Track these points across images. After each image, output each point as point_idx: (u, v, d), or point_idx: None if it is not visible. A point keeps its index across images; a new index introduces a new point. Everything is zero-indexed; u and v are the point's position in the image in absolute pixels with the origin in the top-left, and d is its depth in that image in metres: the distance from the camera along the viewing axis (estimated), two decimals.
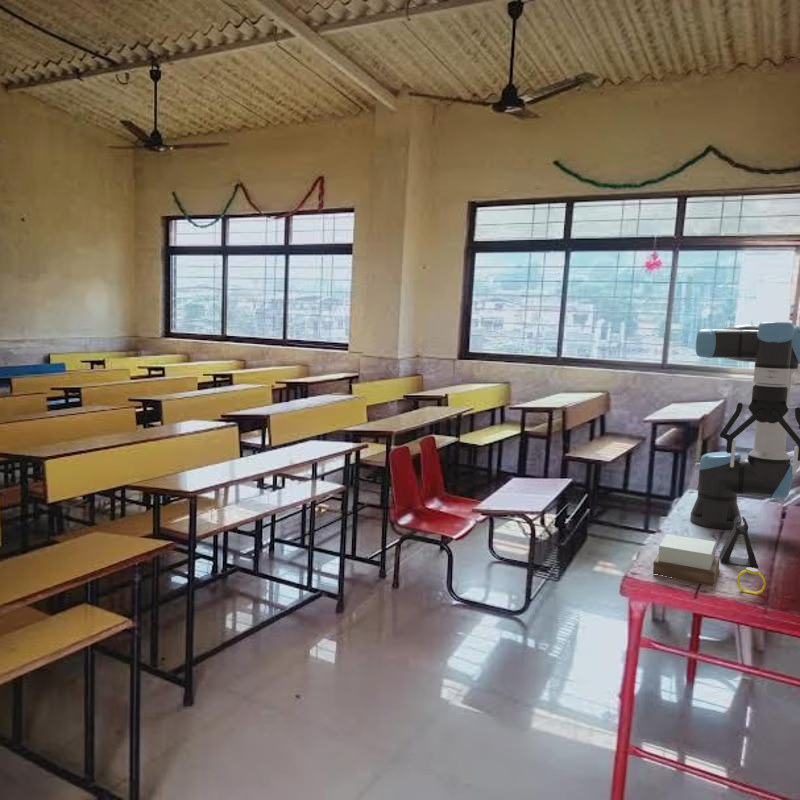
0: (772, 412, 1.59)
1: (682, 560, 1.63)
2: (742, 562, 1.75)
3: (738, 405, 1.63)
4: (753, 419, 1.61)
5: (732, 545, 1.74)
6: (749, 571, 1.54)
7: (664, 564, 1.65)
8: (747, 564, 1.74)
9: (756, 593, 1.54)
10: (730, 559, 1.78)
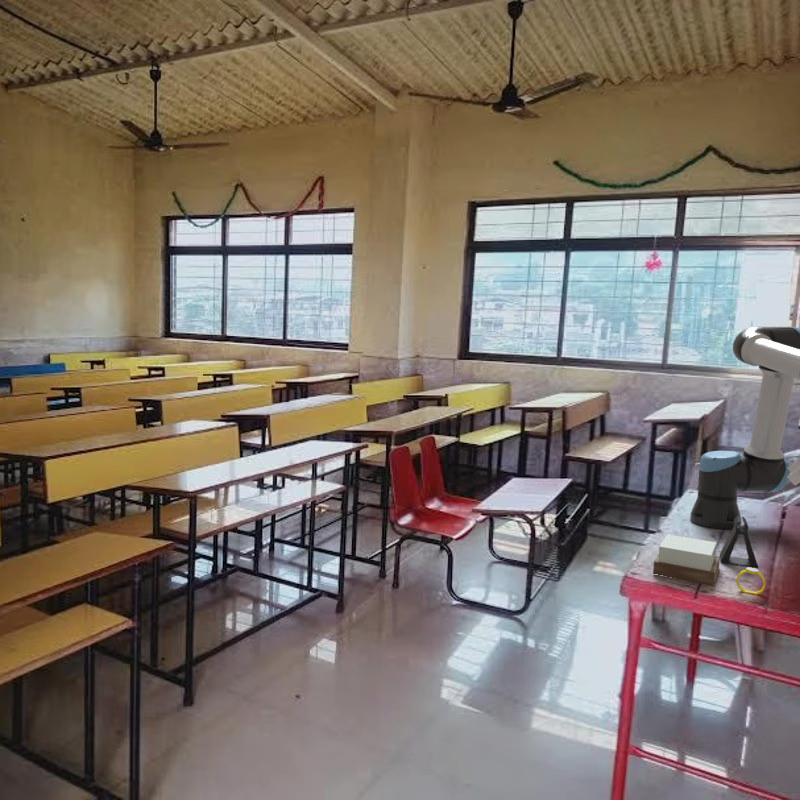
0: None
1: (682, 561, 1.63)
2: (742, 562, 1.75)
3: None
4: None
5: (732, 545, 1.74)
6: (749, 571, 1.54)
7: (664, 564, 1.65)
8: (747, 564, 1.74)
9: (756, 593, 1.54)
10: (730, 559, 1.78)
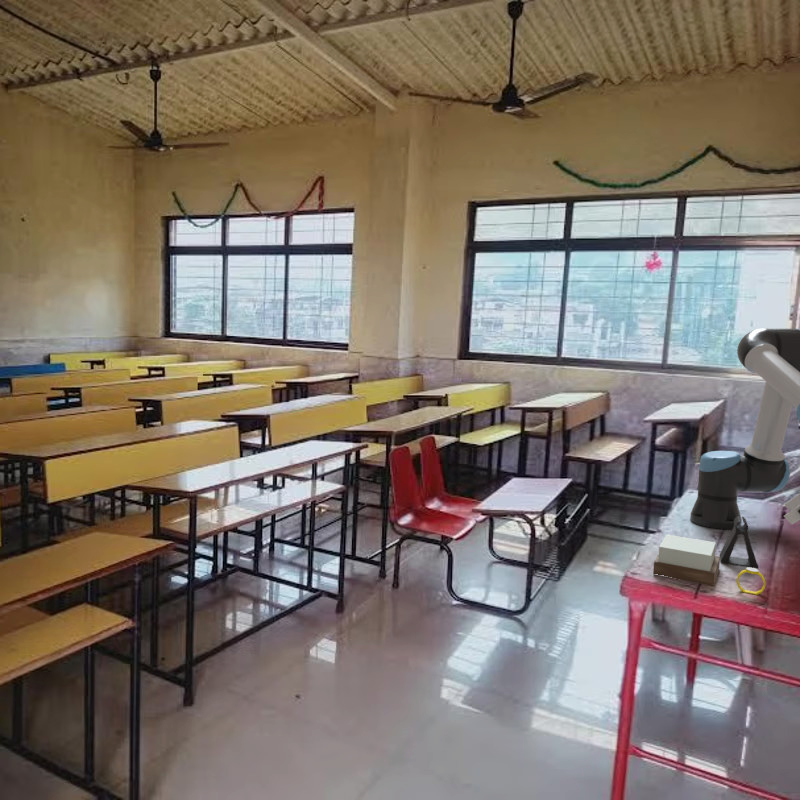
0: None
1: (681, 561, 1.63)
2: (742, 562, 1.75)
3: None
4: None
5: (732, 545, 1.74)
6: (749, 571, 1.54)
7: (664, 564, 1.65)
8: (747, 564, 1.74)
9: (756, 593, 1.54)
10: (730, 559, 1.78)
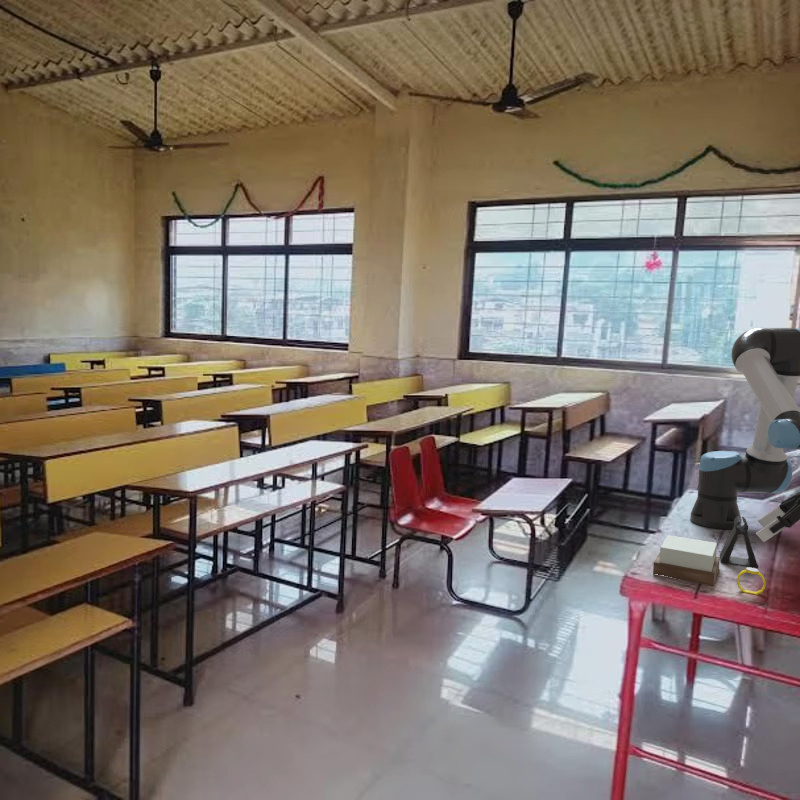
0: None
1: (683, 562, 1.63)
2: (742, 562, 1.75)
3: None
4: None
5: (732, 545, 1.74)
6: (749, 571, 1.54)
7: (664, 564, 1.65)
8: (747, 564, 1.74)
9: (756, 593, 1.54)
10: (730, 559, 1.78)
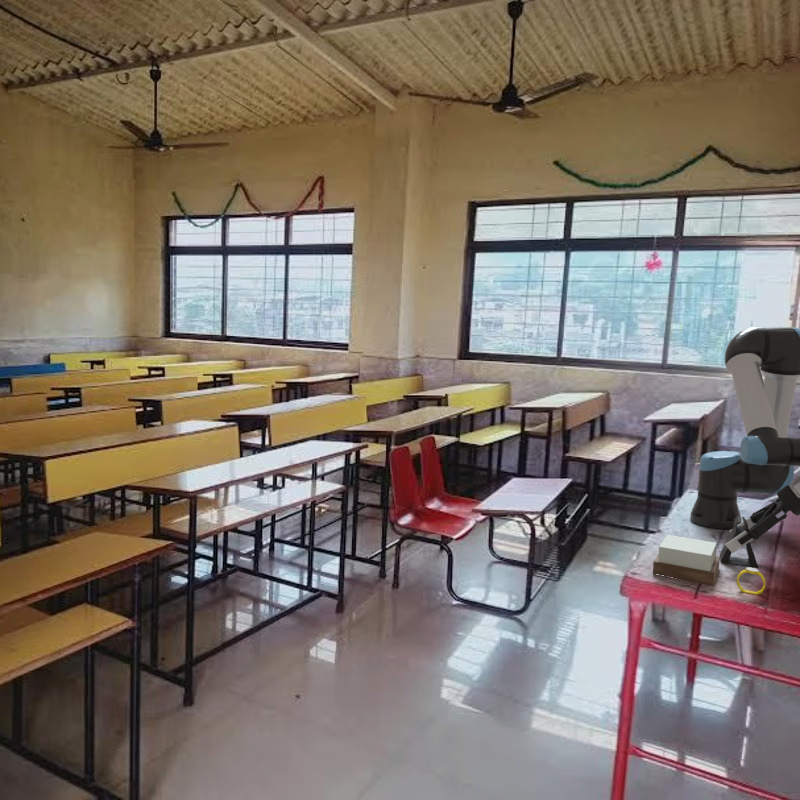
0: None
1: (682, 561, 1.63)
2: (742, 562, 1.75)
3: (784, 517, 1.65)
4: None
5: None
6: (749, 571, 1.54)
7: (664, 564, 1.65)
8: (747, 564, 1.74)
9: (756, 593, 1.54)
10: (730, 559, 1.78)
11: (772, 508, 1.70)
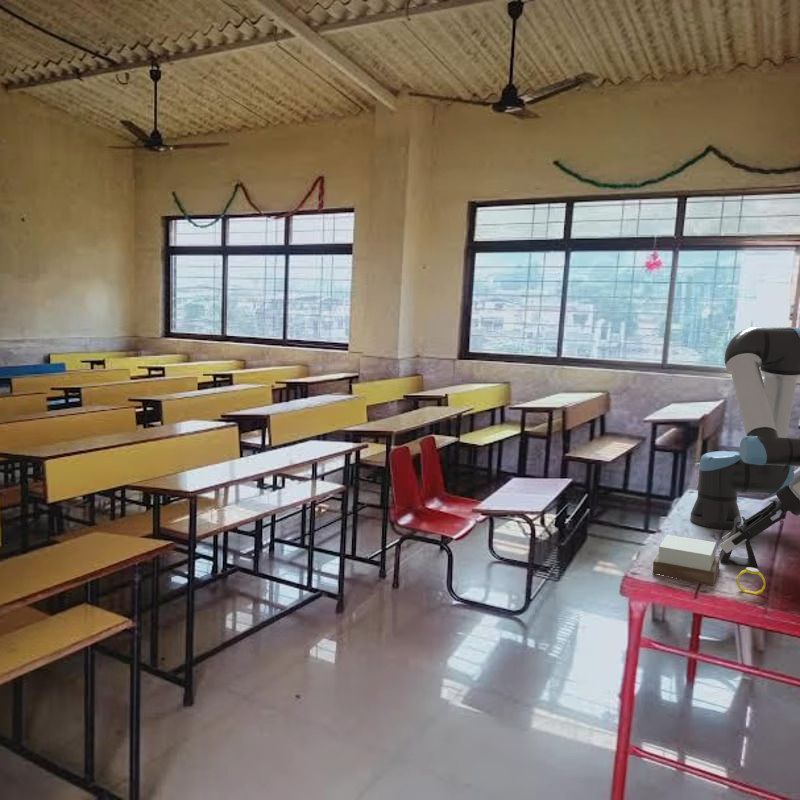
0: None
1: (681, 561, 1.63)
2: (742, 562, 1.75)
3: (779, 520, 1.65)
4: None
5: None
6: (749, 571, 1.54)
7: (664, 564, 1.65)
8: (747, 564, 1.74)
9: (756, 593, 1.54)
10: (730, 559, 1.78)
11: (770, 509, 1.70)
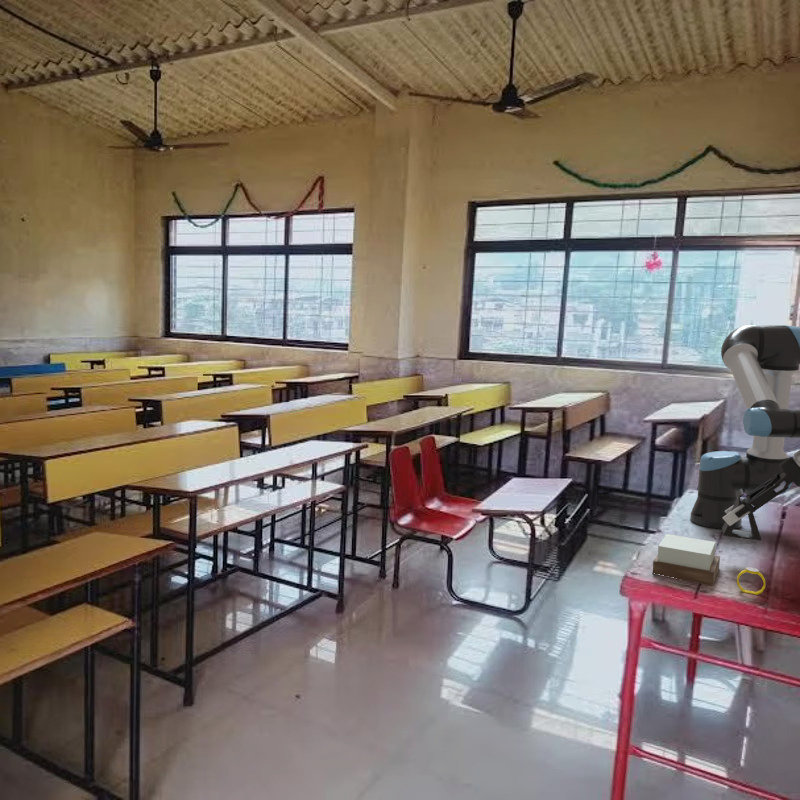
0: None
1: (681, 560, 1.63)
2: (745, 535, 1.74)
3: (783, 492, 1.64)
4: None
5: None
6: (749, 571, 1.54)
7: (664, 563, 1.65)
8: (750, 537, 1.73)
9: (756, 593, 1.54)
10: (733, 532, 1.76)
11: (774, 481, 1.68)
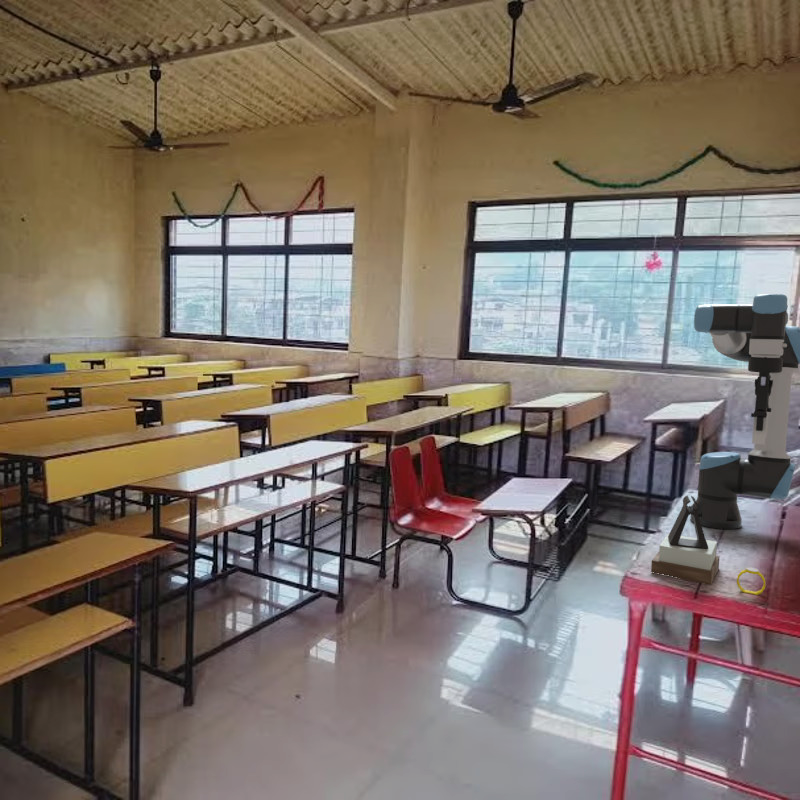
0: None
1: (682, 560, 1.64)
2: (692, 544, 1.67)
3: (769, 379, 1.58)
4: (770, 391, 1.61)
5: (682, 526, 1.66)
6: (749, 571, 1.54)
7: (662, 563, 1.66)
8: (697, 545, 1.66)
9: (756, 593, 1.54)
10: (679, 541, 1.69)
11: (756, 383, 1.63)
